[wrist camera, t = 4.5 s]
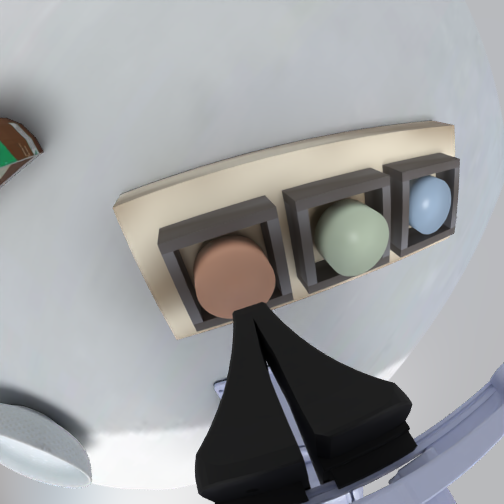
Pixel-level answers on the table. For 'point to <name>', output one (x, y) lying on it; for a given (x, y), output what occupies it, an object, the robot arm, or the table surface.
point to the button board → (283, 211)
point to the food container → (15, 149)
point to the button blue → (428, 203)
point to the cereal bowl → (41, 448)
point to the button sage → (351, 237)
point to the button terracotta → (232, 275)
